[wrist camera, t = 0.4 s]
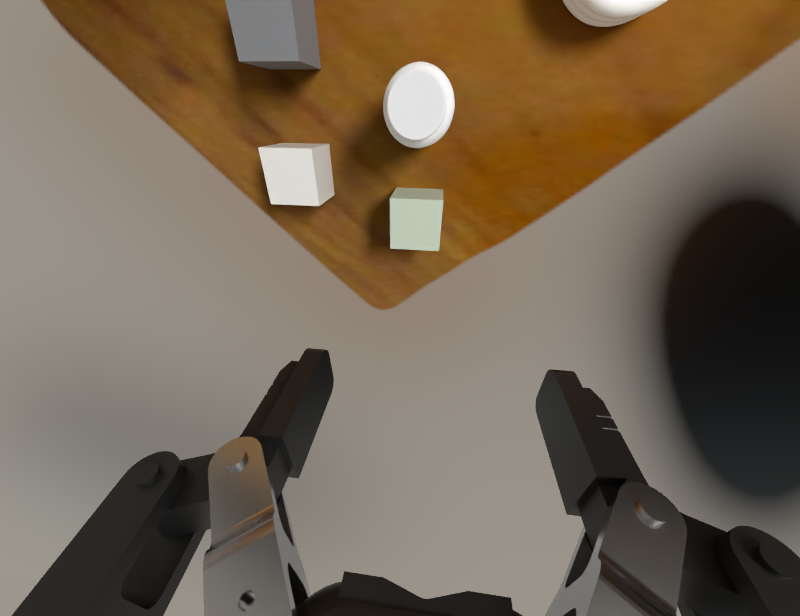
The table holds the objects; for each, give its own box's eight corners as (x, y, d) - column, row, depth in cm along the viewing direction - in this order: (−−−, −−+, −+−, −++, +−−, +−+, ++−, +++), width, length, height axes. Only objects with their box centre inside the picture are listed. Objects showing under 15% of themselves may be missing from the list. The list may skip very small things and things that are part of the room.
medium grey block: (255, -7, 25) (218, -31, 21) (313, -9, 24) (286, -34, 20) (269, 69, 28) (238, 61, 23) (321, 69, 27) (299, 61, 23)
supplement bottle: (455, 135, 29) (460, 143, 20) (401, 148, 30) (385, 160, 22) (448, 65, 26) (450, 42, 18) (388, 82, 27) (365, 68, 19)
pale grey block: (282, 143, 31) (258, 147, 27) (329, 143, 30) (311, 148, 26) (292, 193, 34) (270, 204, 29) (334, 194, 33) (319, 206, 29)
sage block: (396, 187, 32) (389, 198, 28) (442, 189, 31) (443, 200, 27) (396, 232, 35) (390, 248, 30) (439, 234, 34) (438, 251, 30)
